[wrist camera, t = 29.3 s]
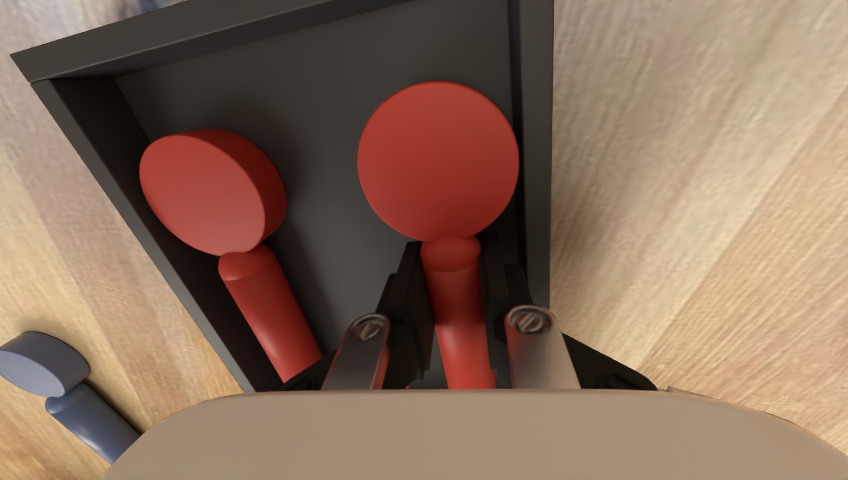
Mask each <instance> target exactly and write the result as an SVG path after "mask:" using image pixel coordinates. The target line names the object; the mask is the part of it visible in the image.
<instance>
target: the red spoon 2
mask: <svg viewBox="0 0 848 480" xmlns="http://www.w3.org/2000/svg"><path fill="white" fill-rule="evenodd" d="M357 165H358V174H359V179H360V183H361V186H362V189H363V192H364V194H365V196H366V198H367V200H368V202H369V204H370V205H371V207H372V208H373V210H374V211H375V212H376V213H377V215H378V216H379V217H380V218H381V219H382V220H383V221H384V222H385V223H386V224H388V225H389V226H390V227H392V228H393V229H394V230H396V231H398V232H400V233H401V234H403V235H406V236H408V237H410V238H413V239H416V240H420V241H423V244H422V246H421V252H420V257H421V259H422V265H423V270H424V274H425V279H426V284H427V288H428V293H429V298H430V302H431V307H432V312H433V316H434V321H435V329H436V333H437V338H438V343H439V347H440V352H441V356H442V361H443V366H444V370H445V375H446V380H447V384H448V389H496V379H495V370H494V369H490V364H489V355H488V346H487V337H486V329H485V320H484V311H483V302H482V291H481V278H480V265H479V253H480V251H481V245H480V243H479V241H478V239H477V237H476V236H475V234H476V233H478V232H480V231H482V230H483V229H485V228H486V227H487V226H489V225H490V224H491V223H492V222H493V221H494V220H495V219H496V218H498V216H499V215H500V214H501V213H502V212H503V210H504V209H505V207H506V206H507V204H508V203H509V201H510V199H511V197H512V195H513V192H514V190H515V186H516V183H517V179H518V173H519V153H518V146H517V142H516V138H515V136H514V133H513V131H512V128H511V126H510V124H509V123H508V121H507V119H506V117H505V116H504V115H503V113H502V112H501V111H500V110H499V108H498V107H497V106H496V105H495V104H494V103H492V102H491V101H490V100H489V99H488V98H487V97H486V96H484V95H483V94H482V93H480V92H479V91H477V90H475V89H473V88H471V87H469V86H467V85H464V84H461V83H458V82H452V81H430V82H422V83H418V84H414V85H411V86H408V87H406V88H404V89H402V90H399V91H398V92H396V93H395V94H393V95H392V96H390V97H389V98H387V99H386V100H385V101H384V102H383V103H382V104H381V105H380V106H379V107H378V108H377V109H376V110H375V112H374V113H373V114H372V116H371V117H370V119H369V120H368V122H367V124H366V126H365V128H364V130H363V133H362V136H361V139H360V142H359V148H358V159H357Z"/></svg>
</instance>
